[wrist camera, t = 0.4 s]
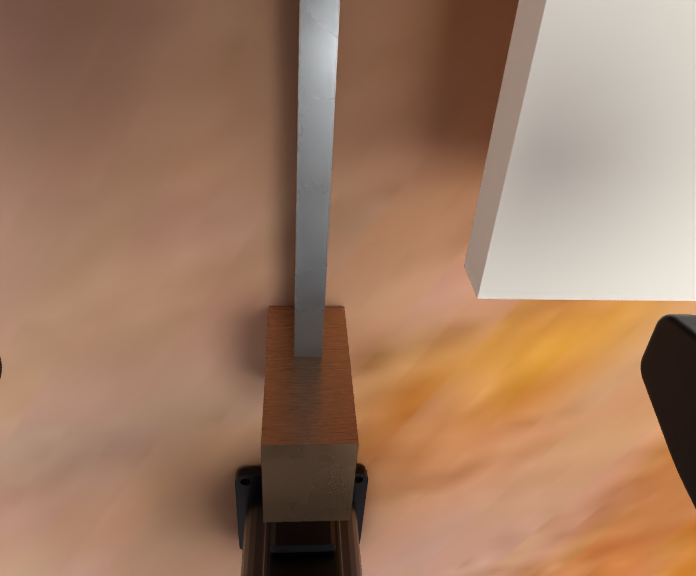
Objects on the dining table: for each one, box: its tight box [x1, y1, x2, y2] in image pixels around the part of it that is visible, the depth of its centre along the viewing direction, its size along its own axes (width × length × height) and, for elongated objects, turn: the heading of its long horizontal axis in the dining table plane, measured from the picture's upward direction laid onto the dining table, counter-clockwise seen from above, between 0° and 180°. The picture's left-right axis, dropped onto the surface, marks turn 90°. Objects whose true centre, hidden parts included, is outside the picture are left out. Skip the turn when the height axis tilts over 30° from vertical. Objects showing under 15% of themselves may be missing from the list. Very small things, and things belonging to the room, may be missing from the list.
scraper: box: [261, 0, 359, 522], centre depth 19 cm, size 17×3×7 cm, turn 176°
